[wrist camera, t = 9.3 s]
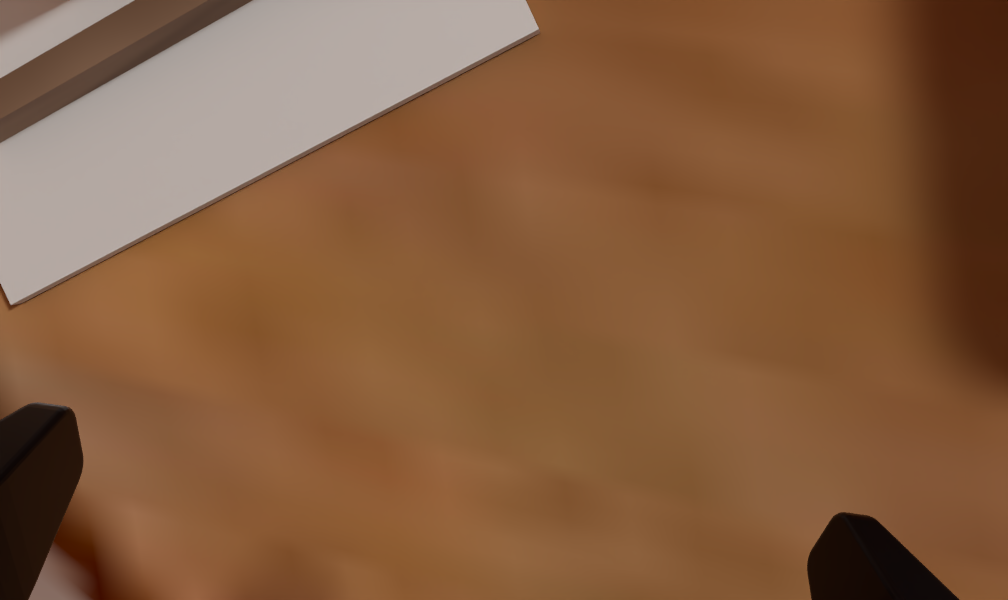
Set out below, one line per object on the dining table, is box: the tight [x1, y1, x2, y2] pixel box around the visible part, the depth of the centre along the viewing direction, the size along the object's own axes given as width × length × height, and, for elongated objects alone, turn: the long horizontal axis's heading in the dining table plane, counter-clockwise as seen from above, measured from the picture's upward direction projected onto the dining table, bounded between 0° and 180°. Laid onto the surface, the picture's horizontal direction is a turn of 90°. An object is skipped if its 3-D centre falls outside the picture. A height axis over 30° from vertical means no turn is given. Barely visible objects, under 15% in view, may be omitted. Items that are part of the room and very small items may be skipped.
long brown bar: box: [0, 0, 252, 143], centre depth 21 cm, size 1×14×1 cm, turn 115°
